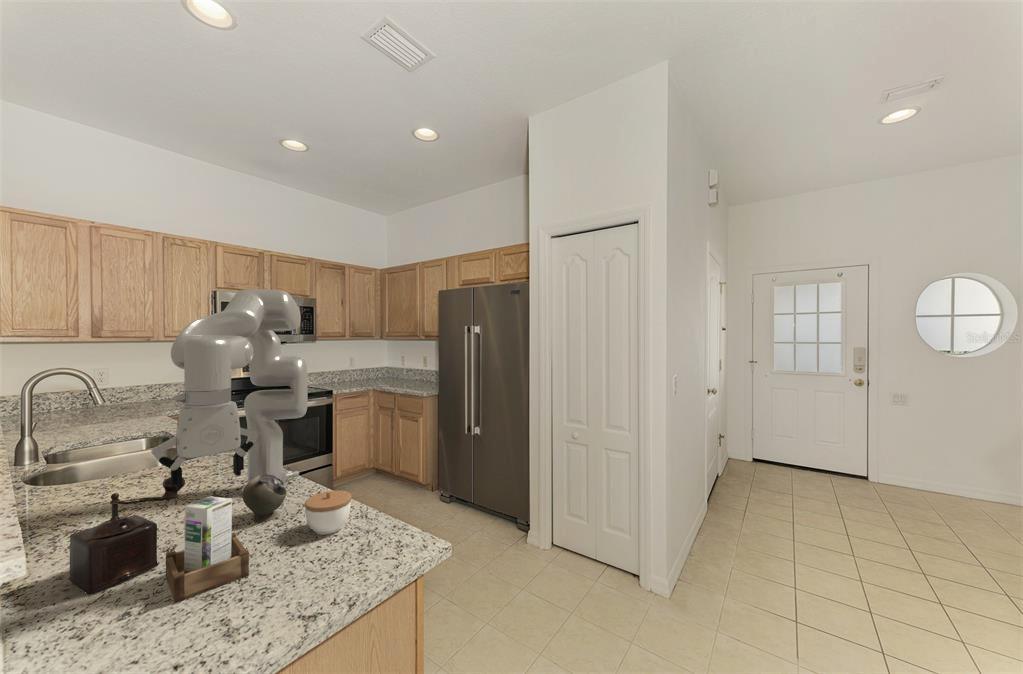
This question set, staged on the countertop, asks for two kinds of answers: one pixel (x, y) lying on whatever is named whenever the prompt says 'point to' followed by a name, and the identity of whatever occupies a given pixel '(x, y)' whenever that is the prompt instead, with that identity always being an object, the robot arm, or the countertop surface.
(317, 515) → the lidded jar
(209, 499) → the syrup box
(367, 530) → the countertop surface
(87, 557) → the manual coffee grinder
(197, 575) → the crate
